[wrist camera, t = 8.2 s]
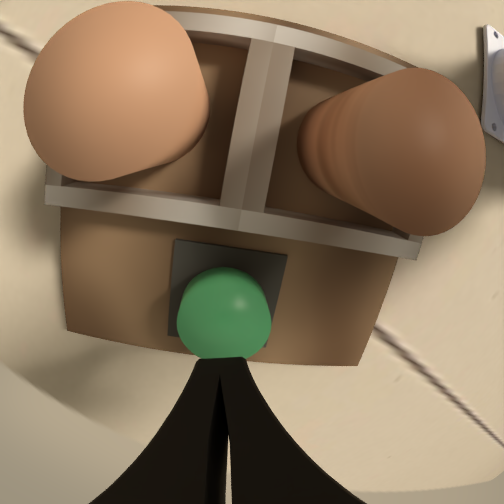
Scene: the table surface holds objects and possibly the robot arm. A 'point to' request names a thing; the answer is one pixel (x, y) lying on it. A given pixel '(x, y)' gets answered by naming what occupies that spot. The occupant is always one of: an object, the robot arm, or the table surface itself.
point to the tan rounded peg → (116, 93)
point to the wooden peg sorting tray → (276, 192)
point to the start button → (223, 314)
